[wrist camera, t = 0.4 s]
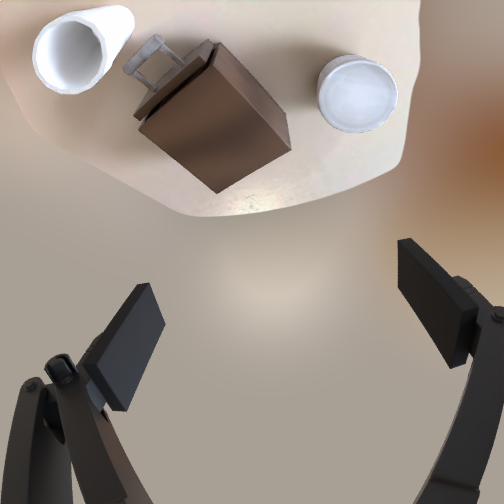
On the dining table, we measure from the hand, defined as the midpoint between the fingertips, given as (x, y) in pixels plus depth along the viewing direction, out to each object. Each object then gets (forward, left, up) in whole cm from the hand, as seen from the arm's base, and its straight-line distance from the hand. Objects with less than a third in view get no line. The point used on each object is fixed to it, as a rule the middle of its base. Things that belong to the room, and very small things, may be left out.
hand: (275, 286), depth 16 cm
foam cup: (-18, -11, -34) cm, 40 cm away
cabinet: (+2, -9, -34) cm, 35 cm away
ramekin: (+10, +8, -34) cm, 37 cm away
